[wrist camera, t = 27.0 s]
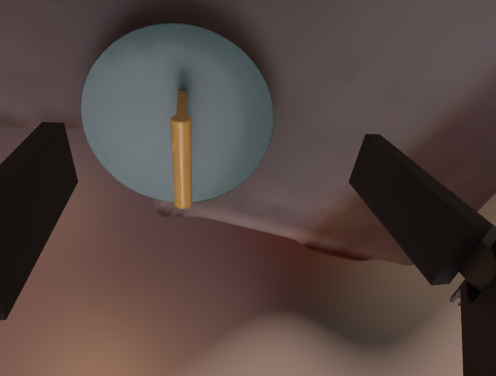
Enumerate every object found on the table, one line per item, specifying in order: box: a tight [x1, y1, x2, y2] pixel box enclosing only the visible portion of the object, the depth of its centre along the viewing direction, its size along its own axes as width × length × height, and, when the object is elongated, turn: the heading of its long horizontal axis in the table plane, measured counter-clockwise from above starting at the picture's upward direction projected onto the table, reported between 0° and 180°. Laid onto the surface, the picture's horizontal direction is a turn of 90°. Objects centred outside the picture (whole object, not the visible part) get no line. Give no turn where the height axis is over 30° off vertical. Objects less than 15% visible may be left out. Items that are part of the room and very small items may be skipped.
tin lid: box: [81, 22, 274, 209], centre depth 24 cm, size 17×17×8 cm
